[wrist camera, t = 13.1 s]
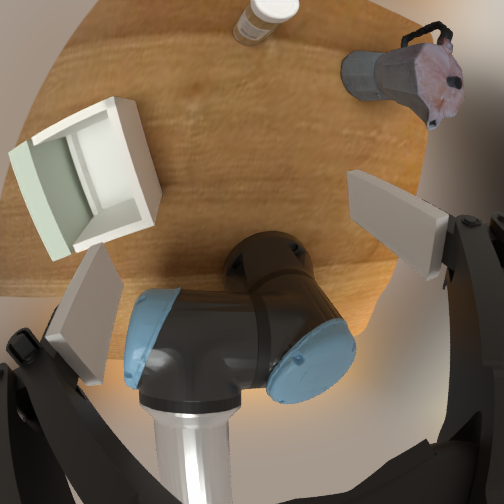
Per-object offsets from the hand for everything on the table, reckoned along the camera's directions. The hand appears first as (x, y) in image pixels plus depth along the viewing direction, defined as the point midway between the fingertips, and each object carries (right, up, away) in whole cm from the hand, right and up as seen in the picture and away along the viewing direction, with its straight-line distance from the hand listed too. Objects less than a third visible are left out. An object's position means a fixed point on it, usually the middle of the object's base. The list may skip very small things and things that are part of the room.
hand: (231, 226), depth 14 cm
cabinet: (-20, +11, +20) cm, 31 cm away
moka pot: (+18, +27, +21) cm, 39 cm away
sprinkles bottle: (+1, +29, +16) cm, 33 cm away
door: (-25, +10, +20) cm, 33 cm away
